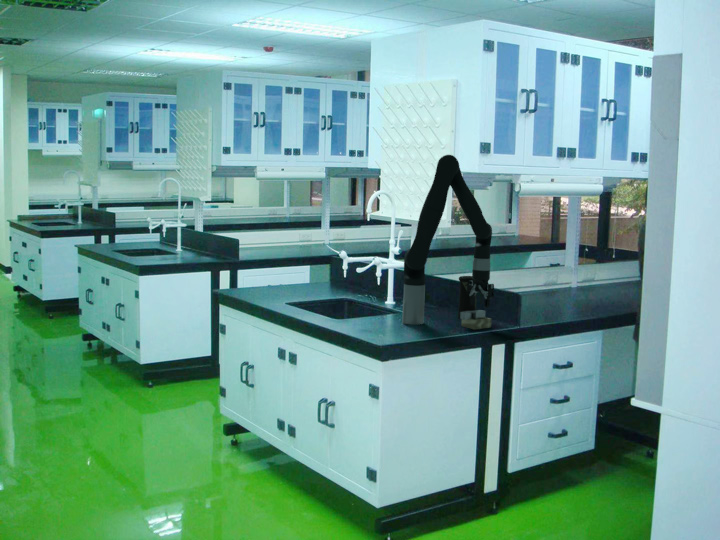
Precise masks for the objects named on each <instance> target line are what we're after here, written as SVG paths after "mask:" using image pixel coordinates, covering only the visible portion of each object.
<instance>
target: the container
mask: <svg viewBox="0 0 720 540" xmlns="http://www.w3.org/2000/svg"><path fill="white" fill-rule="evenodd" d="M470 280H473V279H472V275H462V276H459V277H458V281H459V291H458V292H459V295H458V309H457V319H459V320H461V319H460V312H465V311H475V310H477V293H478V292H477V293H476V295H475V305H471V304H470V295H469V294H467V283H468V281H470ZM473 287H474V286H473Z"/></svg>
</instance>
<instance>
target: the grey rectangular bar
mask: <svg viewBox="0 0 720 540" xmlns="http://www.w3.org/2000/svg"><path fill="white" fill-rule="evenodd" d="M473 312H476V319H479V318H485V317H486V310H482V309H476V310H475V311H465V312H460V319H459V320H462V319H463V320H469V319H473Z"/></svg>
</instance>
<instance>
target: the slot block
mask: <svg viewBox="0 0 720 540" xmlns="http://www.w3.org/2000/svg"><path fill="white" fill-rule="evenodd" d="M460 323H461V325H460V326H461V327H463V328H467V329H471V330H481V329H482V330H483V329H489V328H492V318H491V317H486V316H485V318H479V319H476V312H473V319H469V320H463V319H461V322H460Z"/></svg>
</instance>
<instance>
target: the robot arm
mask: <svg viewBox="0 0 720 540" xmlns="http://www.w3.org/2000/svg"><path fill="white" fill-rule="evenodd" d="M450 188H451V189H452V191H453V193H454V195H455V197H456V200H457V201H458V203H459V206H460V208H461V209H462V211H463V214H464V215H465V217H466V218H467V220H468V223H469V225H470V227H471V229H472V232H473V234H474V235H475V245H474V248H473V260H472V272H471V273H472V275H471V276H472V279H473V280H470V281H468V283H467V294H469V295H470V304H471V305H475V295H476V293H481V294H482V295H483V297H484V308H486V309H487V308H490V305H491V299H493V298H494V297H495V285H494V284H495V283H489V280H490V279H491V244H492V237H493V228H492V225H491V224H490V223H488V222H487V221H486V219H485V216H484V214H483V211H482V208H481V206H480V205H479V203H478V201H477V200H476V198H475V195H474V194H473V193H472V191H471V189H469V186H468V185H467V183H466V181H465V179H464V177H463V174H462V170H461V168H460V163H459V160H458V159H457V157H456V156H455V155H453V154H445V155H443V156H441V157H440V158H439V160H438V161H437V164H436V169H435V174H434V177H433V181H432V185H431V186H430V189H429V191H428V193H427V195H426V198H425V200H424V203H423V205H422V208H421V211H420V214H419V216H418V217H419V218H418V222H417V227H416V233H415V237H414V240H413V242H412V243H411V246H410V247H409V249H408V250H407V251H405V253H404V257H403V258H404V259H403V260H404V261H403V300H402V312H401V313H402V315H401V316H402V318H401V319H402V320H401V321H402V324H403V325H410V326H411V325H412V326H419V325H420V324H421V325H423V324H424V321H425V320H424V319H425V297H426V296H425V293H426V273H425V272H426V269H425V268H426V264H427V261H428V256H429V252H430V250H431V245H432V244H431V243H432V241H433V239H434V236H435V235H436V232H437V230H438V227H439V225H440V224H441V220H442V218H443V214H444V211H445V208H446V204H447V199H448V194H449V189H450ZM473 286H474V287H473ZM476 296H477V295H476Z"/></svg>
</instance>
